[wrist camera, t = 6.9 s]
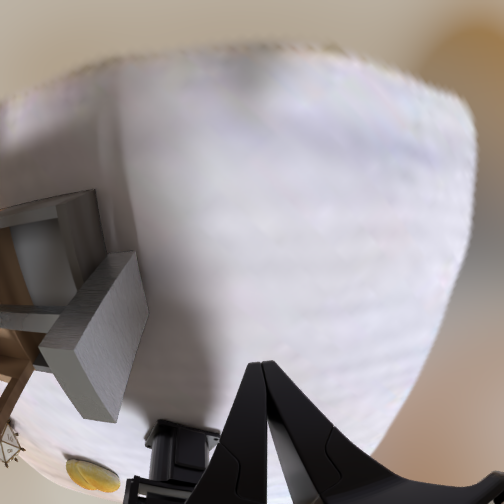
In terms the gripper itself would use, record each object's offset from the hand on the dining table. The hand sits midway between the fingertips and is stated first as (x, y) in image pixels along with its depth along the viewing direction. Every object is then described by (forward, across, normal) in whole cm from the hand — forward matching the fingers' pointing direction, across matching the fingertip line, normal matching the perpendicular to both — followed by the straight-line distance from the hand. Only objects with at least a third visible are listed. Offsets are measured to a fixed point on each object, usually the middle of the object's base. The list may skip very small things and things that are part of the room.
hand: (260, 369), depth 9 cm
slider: (+7, +20, 0) cm, 21 cm away
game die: (+8, +38, +24) cm, 46 cm away
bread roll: (+8, +26, +34) cm, 44 cm away
